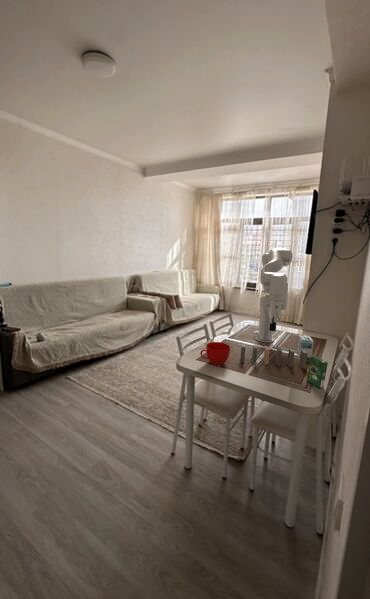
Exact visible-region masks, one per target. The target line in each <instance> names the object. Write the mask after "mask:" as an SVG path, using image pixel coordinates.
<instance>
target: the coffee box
mask: <svg viewBox="0 0 370 599" xmlns="http://www.w3.org/2000/svg"><path fill="white" fill-rule="evenodd" d="M309 359H310V361H309V367H308V374H307V380H306V381H307V382H309V383H310V384H312V385H314V386H315V387H317V388H319V389H323V388H324V386H325V382H326V381H325V380H326V376H327V370H328V364H329V362H328V361H326V360H324V359H322V358H320V357H318V356H317V355H312V356H311V358H309Z"/></svg>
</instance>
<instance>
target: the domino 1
mask: <svg viewBox="0 0 370 599" xmlns="http://www.w3.org/2000/svg"><path fill="white" fill-rule="evenodd" d="M240 346H241V348H240V358H239V360H240V361H239V362H240V363H245V357H246V349H247V348H246V344H245V343H241V345H240Z"/></svg>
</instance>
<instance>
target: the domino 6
mask: <svg viewBox="0 0 370 599" xmlns="http://www.w3.org/2000/svg"><path fill="white" fill-rule="evenodd" d="M307 358H308V357H307V352H306V350H301V355H299V363H298V364H299V366H300V369H303V370H306V365H307V360H308V359H307Z"/></svg>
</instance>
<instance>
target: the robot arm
mask: <svg viewBox="0 0 370 599" xmlns="http://www.w3.org/2000/svg"><path fill="white" fill-rule="evenodd" d="M293 255H294V254H293V251H292V250H290V249H288V248H272V249H270V250H269V251H268V252H266V253H263V254H262V255H261V256H262V257H261V264H262V267H261V270H260V277H259V278H260V279H259V281H260V284H261V285H262V286H263V292H264V293H268V294H264V295H262V296H261V297H260V298H259V309H260V310H259V319H258V320H259V321H258V330H255V331H254V332H253V333H254V335H256V336H255V337H254V338H255V340H256V341H259V342H261V343H273V342H274V341H275V338H274V337H273V332H276V331H277V322H278V320H279V321H281V319H282V318H281V317H282V311H285V310H286V308H287V306H288V294H289V283H288V276H287V275H286V273H284V272H282V273H281V272H280V271H281V270H282V269H283V267H288V266H289V265H290V264H291V263H292V260H293Z"/></svg>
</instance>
